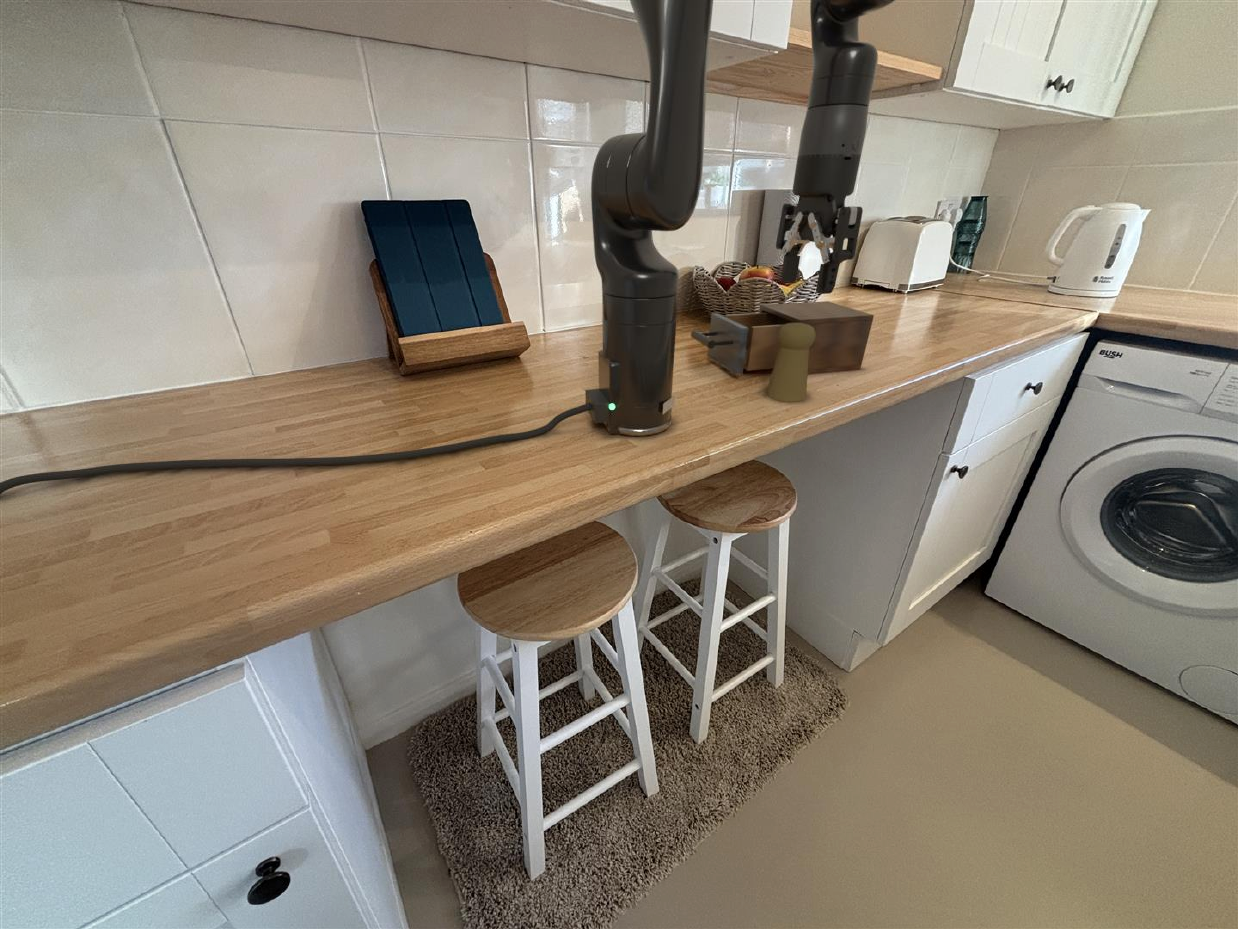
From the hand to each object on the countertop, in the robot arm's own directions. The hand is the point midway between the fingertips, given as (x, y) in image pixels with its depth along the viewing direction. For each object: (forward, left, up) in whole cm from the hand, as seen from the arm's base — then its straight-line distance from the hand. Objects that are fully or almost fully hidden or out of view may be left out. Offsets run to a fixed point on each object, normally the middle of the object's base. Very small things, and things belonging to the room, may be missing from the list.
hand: (805, 287), depth 70 cm
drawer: (0, +14, -15) cm, 21 cm away
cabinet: (+13, +14, -16) cm, 25 cm away
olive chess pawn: (0, 0, -16) cm, 16 cm away
